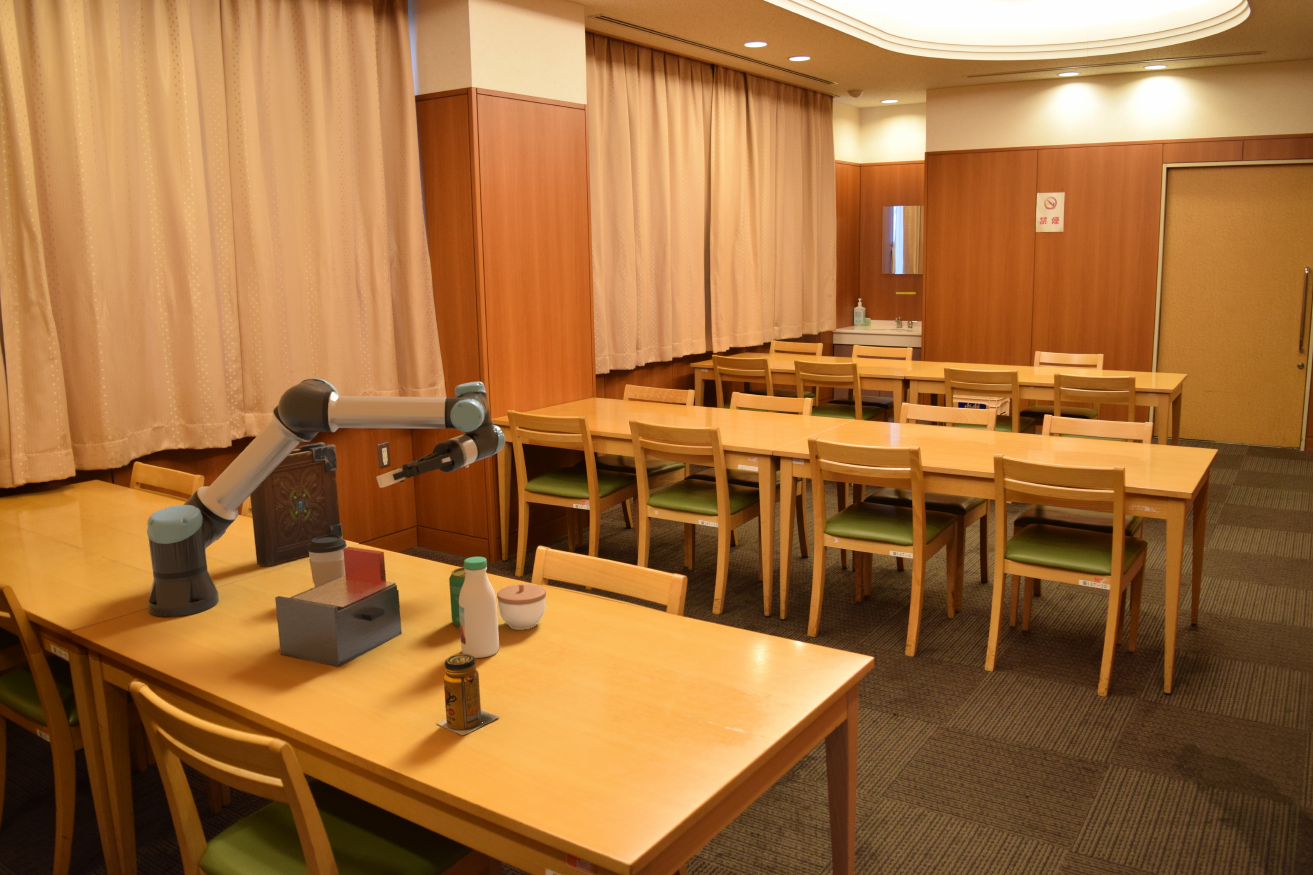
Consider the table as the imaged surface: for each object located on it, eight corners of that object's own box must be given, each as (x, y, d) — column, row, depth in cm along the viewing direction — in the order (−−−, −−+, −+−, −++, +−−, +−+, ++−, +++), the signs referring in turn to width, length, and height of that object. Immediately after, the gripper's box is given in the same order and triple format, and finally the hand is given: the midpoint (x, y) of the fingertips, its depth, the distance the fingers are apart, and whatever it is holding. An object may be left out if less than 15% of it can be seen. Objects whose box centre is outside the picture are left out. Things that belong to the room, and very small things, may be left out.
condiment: (436, 724, 170) (431, 660, 168) (474, 706, 177) (470, 644, 175) (462, 736, 166) (458, 670, 164) (500, 718, 172) (497, 654, 170)
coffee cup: (338, 603, 232) (333, 543, 229) (304, 601, 234) (298, 541, 231) (357, 591, 240) (352, 532, 238) (324, 589, 242) (319, 531, 240)
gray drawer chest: (337, 621, 220) (333, 568, 218) (410, 635, 211) (406, 580, 209) (272, 652, 203) (266, 595, 201) (348, 668, 194) (343, 609, 192)
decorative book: (330, 543, 282) (321, 442, 276) (343, 547, 277) (335, 445, 272) (252, 563, 264) (241, 456, 259) (266, 568, 260) (255, 459, 254)
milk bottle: (505, 646, 204) (501, 555, 200) (487, 660, 197) (482, 566, 193) (473, 642, 206) (468, 552, 203) (454, 656, 199) (448, 563, 196)
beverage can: (495, 618, 220) (492, 568, 218) (474, 631, 213) (471, 578, 211) (466, 613, 223) (463, 564, 221) (444, 626, 216) (441, 574, 214)
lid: (346, 579, 217) (343, 544, 216) (395, 587, 211) (393, 551, 210) (292, 602, 203) (288, 565, 202) (343, 611, 197) (339, 573, 196)
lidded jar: (538, 635, 210) (536, 593, 208) (491, 632, 212) (489, 591, 210) (553, 617, 220) (551, 577, 218) (508, 614, 222) (506, 575, 220)
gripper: (476, 465, 235) (403, 494, 216) (441, 471, 243) (367, 500, 224) (467, 435, 234) (393, 462, 215) (432, 443, 242) (357, 469, 223)
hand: (380, 482), depth 220 cm, fingers closed
